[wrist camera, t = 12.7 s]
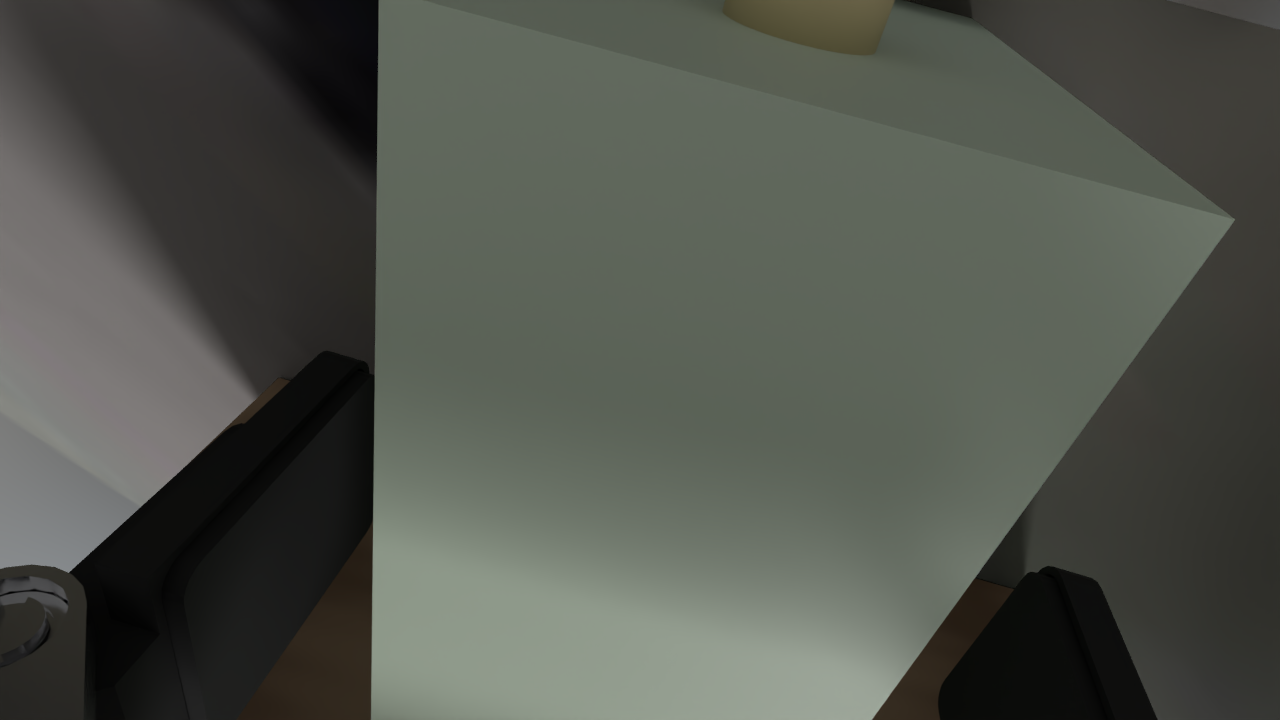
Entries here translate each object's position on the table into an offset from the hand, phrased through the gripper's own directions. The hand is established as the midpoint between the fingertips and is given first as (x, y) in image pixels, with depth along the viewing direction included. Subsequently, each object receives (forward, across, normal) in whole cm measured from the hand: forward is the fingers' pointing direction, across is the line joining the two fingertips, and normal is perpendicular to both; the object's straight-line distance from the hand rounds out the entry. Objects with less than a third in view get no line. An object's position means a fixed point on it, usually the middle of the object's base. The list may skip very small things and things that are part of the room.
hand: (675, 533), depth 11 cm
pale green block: (+7, 0, -1) cm, 7 cm away
